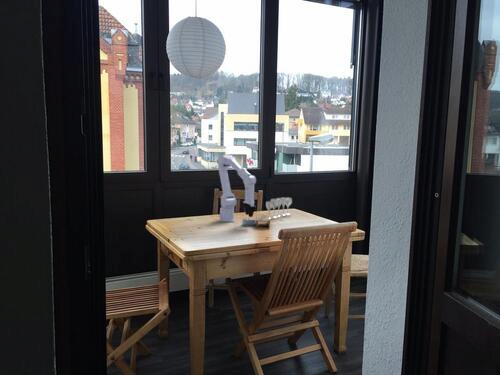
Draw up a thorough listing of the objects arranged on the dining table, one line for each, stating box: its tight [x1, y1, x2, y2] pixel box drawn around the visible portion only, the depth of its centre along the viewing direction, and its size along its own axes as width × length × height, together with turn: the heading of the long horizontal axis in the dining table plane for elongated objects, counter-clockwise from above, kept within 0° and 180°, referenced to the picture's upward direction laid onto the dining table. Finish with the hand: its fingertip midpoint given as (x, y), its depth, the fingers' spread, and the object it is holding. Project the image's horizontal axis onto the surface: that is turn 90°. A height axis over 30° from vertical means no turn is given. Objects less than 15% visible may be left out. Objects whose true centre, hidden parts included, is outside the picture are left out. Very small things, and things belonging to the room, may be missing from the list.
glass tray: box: [242, 217, 256, 227], centre depth 269 cm, size 7×5×4 cm
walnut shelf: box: [255, 214, 271, 229], centre depth 269 cm, size 8×17×5 cm, turn 179°
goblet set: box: [265, 196, 293, 220], centre depth 301 cm, size 28×6×13 cm, turn 140°
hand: (249, 215), depth 268 cm, fingers open, 7 cm apart
